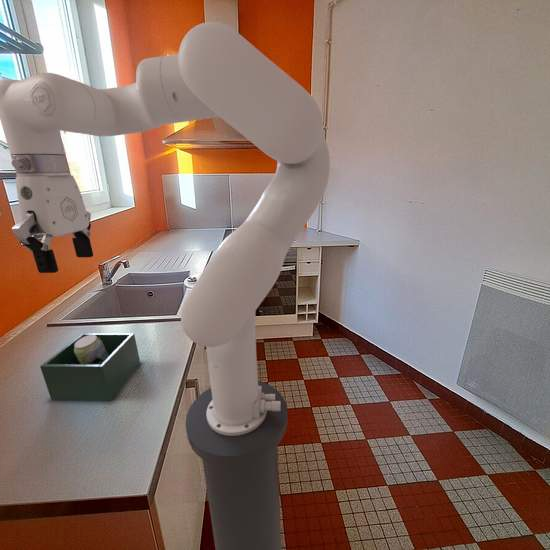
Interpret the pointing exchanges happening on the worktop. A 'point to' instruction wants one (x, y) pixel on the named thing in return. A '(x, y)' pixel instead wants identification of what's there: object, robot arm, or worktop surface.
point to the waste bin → (92, 370)
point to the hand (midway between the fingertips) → (68, 264)
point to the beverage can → (90, 350)
